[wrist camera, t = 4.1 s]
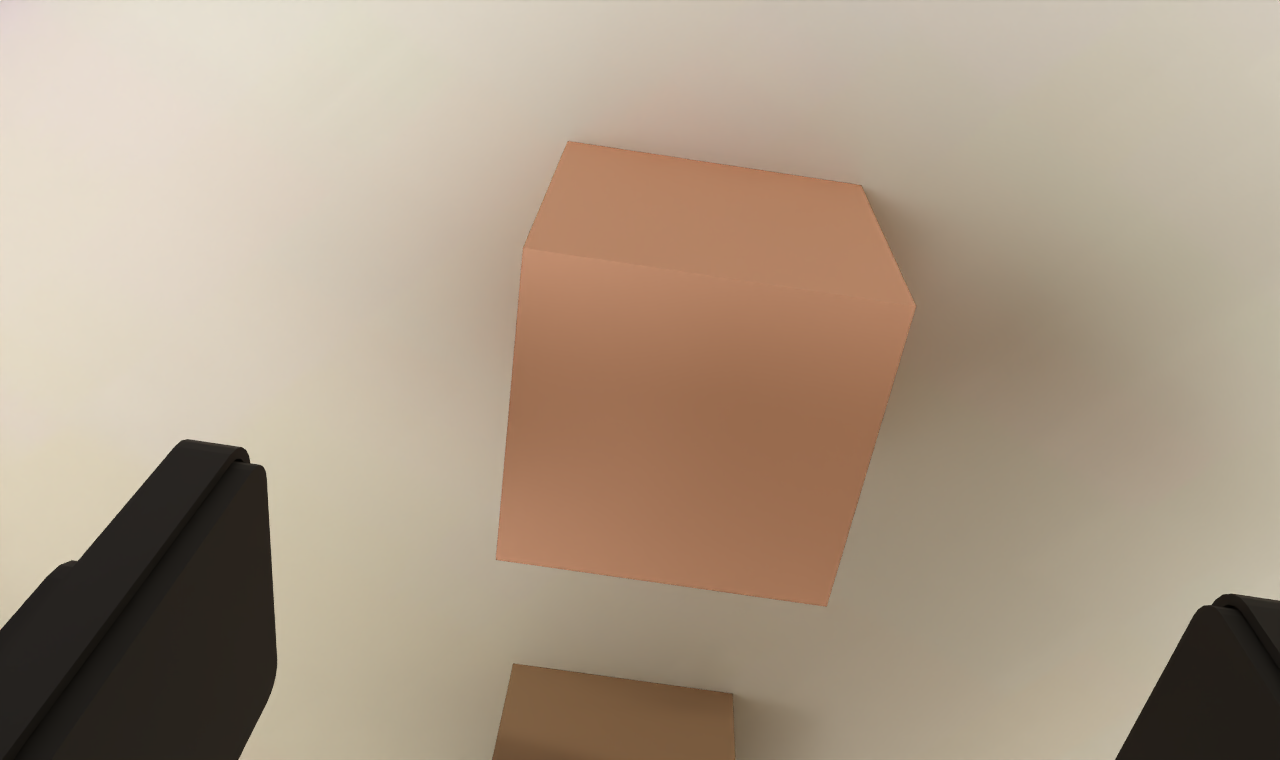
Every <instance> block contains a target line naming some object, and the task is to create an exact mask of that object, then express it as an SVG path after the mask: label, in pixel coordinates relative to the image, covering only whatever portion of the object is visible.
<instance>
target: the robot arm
mask: <svg viewBox="0 0 1280 760" xmlns="http://www.w3.org/2000/svg"><path fill="white" fill-rule="evenodd" d="M276 670H277V649H276V632H275V614H274V597H273V580H272V562H271V545H270V528H269V510H268V493H267V477H266V471H265V469H264V467H263V466H261V465H257V464H250V459H249V455H248V453H247V451H246V450H245V449H244V448H242V447H236V446H230V445H223V444H216V443H209V442H203V441H196V440H189V439H187V440H182V441H181V442H179V443H178V444H177V445H176V446H175V447H174V448H173V449H172V451H171V452H170V453H169V454H168V455H167V456H166V458H165V459H164V460H163V461H162V462H161V464H160V465H159V466H158V467H157V468H156V469H155V471H154V472H153V473H152V474H151V475H150V476H149V478H148V479H147V480H146V481H145V482H144V484H143V485H142V486H141V487H140V488H139V489H138V491H137V492H136V493H135V494H134V495H133V497H132V498H131V499H130V500H129V501H128V502H127V504H126V505H125V506H124V507H123V508H122V510H121V511H120V512H119V513H118V514H117V515H116V517H115V518H114V519H113V520H112V521H111V523H110V524H109V525H108V526H107V527H106V528H105V530H104V531H103V532H102V533H101V534H100V536H99V537H98V538H97V539H96V540H95V541H94V543H93V544H92V545H91V546H90V547H89V549H88V550H87V551H86V552H85V553H84V554H83V556H82V557H81V558H80V559H79V560H78V561H73V560H71V561H69V562H66V563H64V564H61V565H59V566H58V567H57V568H56V569H55V570H54V571H53V572H52V573H50V574H49V575H48V576H47V577H46V578H45V579H44V581H43V582H42V583H41V584H40V585H39V586H38V588H37V589H36V590H35V591H34V592H33V593H32V594H31V596H30V597H29V598H28V599H27V600H26V601H25V602H24V604H23V605H22V606H21V607H20V608H19V609H18V611H17V612H16V613H15V614H14V615H13V616H12V617H11V619H10V620H9V621H8V622H7V623H6V624H5V625H4V627H3V628H2V629H1V630H0V760H238V759H239V757H240V755H241V753H242V751H243V749H244V747H245V745H246V743H247V741H248V739H249V737H250V735H251V733H252V731H253V729H254V727H255V725H256V723H257V721H258V719H259V717H260V715H261V713H262V711H263V709H264V707H265V705H266V703H267V701H268V699H269V696H270V694H271V691H272V688H273V685H274V681H275V676H276ZM1115 760H1280V601H1278V600H1271V599H1264V598H1257V597H1251V596H1244V595H1237V594H1223V595H1222V596H1220V597H1219V598H1217V599H1216V600H1215V601H1214V603H1213V604H1212V605H1207V606H1203V607H1201V608H1200V609H1198V610H1197V612H1196V613H1195V614H1194V616H1193V618H1192V620H1191V621H1190V623H1189V625H1188V627H1187V629H1186V631H1185V632H1184V634H1183V636H1182V638H1181V640H1180V642H1179V643H1178V645H1177V647H1176V649H1175V651H1174V653H1173V654H1172V656H1171V658H1170V660H1169V662H1168V664H1167V665H1166V667H1165V669H1164V671H1163V673H1162V675H1161V676H1160V678H1159V680H1158V682H1157V684H1156V686H1155V687H1154V689H1153V691H1152V693H1151V695H1150V697H1149V698H1148V700H1147V702H1146V704H1145V706H1144V708H1143V709H1142V711H1141V713H1140V715H1139V717H1138V719H1137V720H1136V722H1135V724H1134V726H1133V728H1132V730H1131V731H1130V733H1129V735H1128V737H1127V739H1126V741H1125V742H1124V744H1123V746H1122V748H1121V750H1120V752H1119V753H1118V755H1117V757H1116V759H1115Z"/></svg>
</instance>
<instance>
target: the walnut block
mask: <svg viewBox="0 0 1280 760" xmlns="http://www.w3.org/2000/svg"><path fill="white" fill-rule="evenodd" d="M492 760H735V740H734V716H733V694H731V693H724V692H716V691H709V690H702V689H695V688H687V687H680V686H673V685H665V684H658V683H651V682H643V681H636V680H629V679H622V678H614V677H607V676H600V675H592V674H585V673H578V672H571V671H563V670H556V669H549V668H541V667H534V666H527V665H519V664H513V667H512V671H511V676H510V681H509V685H508V690H507V694H506V699H505V704H504V708H503V713H502V717H501V722H500V726H499V731H498V736H497V740H496V745H495V749H494V754H493V758H492Z"/></svg>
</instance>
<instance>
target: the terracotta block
mask: <svg viewBox="0 0 1280 760" xmlns="http://www.w3.org/2000/svg"><path fill="white" fill-rule="evenodd" d="M915 309H916V305H915V303H914V300H913V298H912V296H911V294H910V292H909V289H908V287H907V285H906V283H905V281H904V278H903V276H902V274H901V272H900V270H899V267H898V265H897V263H896V261H895V259H894V257H893V254H892V252H891V250H890V248H889V246H888V243H887V241H886V239H885V237H884V235H883V232H882V230H881V228H880V226H879V224H878V221H877V219H876V217H875V215H874V213H873V210H872V208H871V206H870V204H869V202H868V199H867V197H866V195H865V193H864V191H863V188H862V186H861V185H856V184H849V183H842V182H836V181H829V180H823V179H816V178H809V177H803V176H796V175H789V174H783V173H776V172H769V171H763V170H756V169H750V168H743V167H736V166H730V165H723V164H716V163H710V162H703V161H696V160H690V159H683V158H677V157H670V156H663V155H657V154H650V153H643V152H637V151H630V150H623V149H617V148H610V147H604V146H597V145H590V144H584V143H577V142H570V141H568V142H567V144H566V147H565V149H564V151H563V154H562V156H561V159H560V161H559V163H558V166H557V168H556V170H555V173H554V175H553V178H552V180H551V182H550V185H549V187H548V190H547V192H546V194H545V197H544V199H543V202H542V204H541V206H540V209H539V211H538V213H537V216H536V218H535V221H534V223H533V225H532V228H531V230H530V233H529V235H528V237H527V240H526V242H525V245H524V247H523V254H522V266H521V277H520V289H519V300H518V312H517V323H516V335H515V346H514V358H513V369H512V381H511V392H510V404H509V415H508V427H507V438H506V450H505V461H504V473H503V484H502V496H501V507H500V518H499V530H498V541H497V553H496V560H501V561H508V562H516V563H523V564H530V565H537V566H544V567H551V568H558V569H565V570H572V571H579V572H586V573H593V574H600V575H607V576H614V577H621V578H629V579H636V580H643V581H650V582H657V583H664V584H671V585H678V586H685V587H692V588H699V589H706V590H713V591H720V592H727V593H734V594H741V595H749V596H756V597H763V598H770V599H777V600H784V601H791V602H798V603H805V604H812V605H819V606H826V607H827V604H828V600H829V597H830V594H831V590H832V587H833V584H834V580H835V577H836V573H837V570H838V567H839V563H840V560H841V557H842V553H843V550H844V547H845V543H846V540H847V537H848V533H849V530H850V527H851V523H852V520H853V516H854V513H855V510H856V506H857V503H858V500H859V496H860V493H861V490H862V486H863V483H864V480H865V476H866V473H867V470H868V466H869V463H870V459H871V456H872V453H873V449H874V446H875V443H876V439H877V436H878V433H879V429H880V426H881V423H882V419H883V416H884V413H885V409H886V406H887V403H888V399H889V396H890V392H891V389H892V386H893V382H894V379H895V376H896V372H897V369H898V366H899V362H900V359H901V356H902V352H903V349H904V346H905V342H906V339H907V335H908V332H909V329H910V325H911V322H912V319H913V315H914V312H915Z"/></svg>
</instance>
